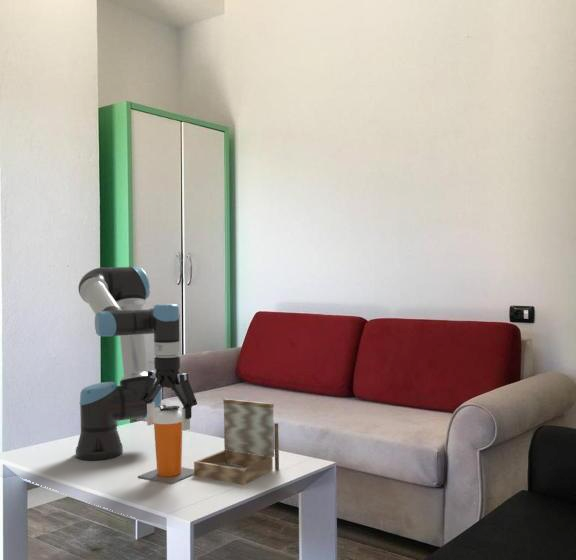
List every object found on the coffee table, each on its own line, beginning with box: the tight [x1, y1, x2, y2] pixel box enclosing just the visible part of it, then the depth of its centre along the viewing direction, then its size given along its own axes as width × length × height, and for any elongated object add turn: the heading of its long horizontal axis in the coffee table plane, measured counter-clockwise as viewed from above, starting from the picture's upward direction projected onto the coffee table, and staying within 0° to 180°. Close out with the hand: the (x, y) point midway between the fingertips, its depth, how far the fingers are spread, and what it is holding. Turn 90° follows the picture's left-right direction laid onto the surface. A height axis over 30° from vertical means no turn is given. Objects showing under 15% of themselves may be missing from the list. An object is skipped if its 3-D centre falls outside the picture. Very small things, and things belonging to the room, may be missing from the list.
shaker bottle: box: [153, 404, 183, 477], centre depth 198 cm, size 9×9×20 cm
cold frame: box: [193, 398, 280, 485], centre depth 199 cm, size 19×17×20 cm
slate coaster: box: [137, 466, 195, 485], centre depth 198 cm, size 13×13×1 cm
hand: (168, 427), depth 198 cm, fingers open, 13 cm apart
